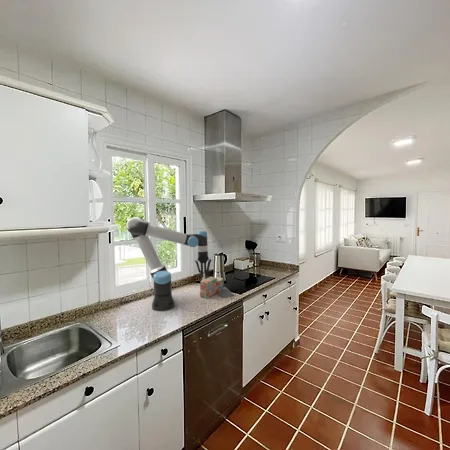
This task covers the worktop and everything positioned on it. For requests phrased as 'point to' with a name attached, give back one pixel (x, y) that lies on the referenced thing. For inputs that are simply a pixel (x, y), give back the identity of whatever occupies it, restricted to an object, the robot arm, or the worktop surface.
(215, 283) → the stack of blocks
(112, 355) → the worktop surface
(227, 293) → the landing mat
